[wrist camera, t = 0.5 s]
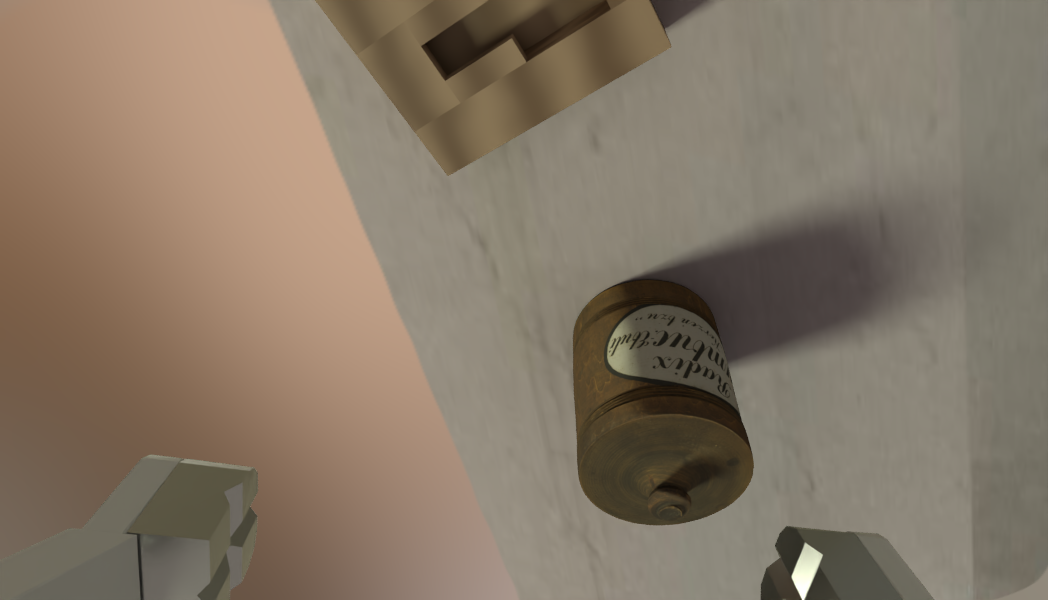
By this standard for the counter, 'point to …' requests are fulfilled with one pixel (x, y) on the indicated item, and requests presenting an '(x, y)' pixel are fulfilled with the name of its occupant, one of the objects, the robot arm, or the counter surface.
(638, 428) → the wooden container
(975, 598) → the counter surface
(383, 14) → the keyhole plate
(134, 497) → the robot arm
